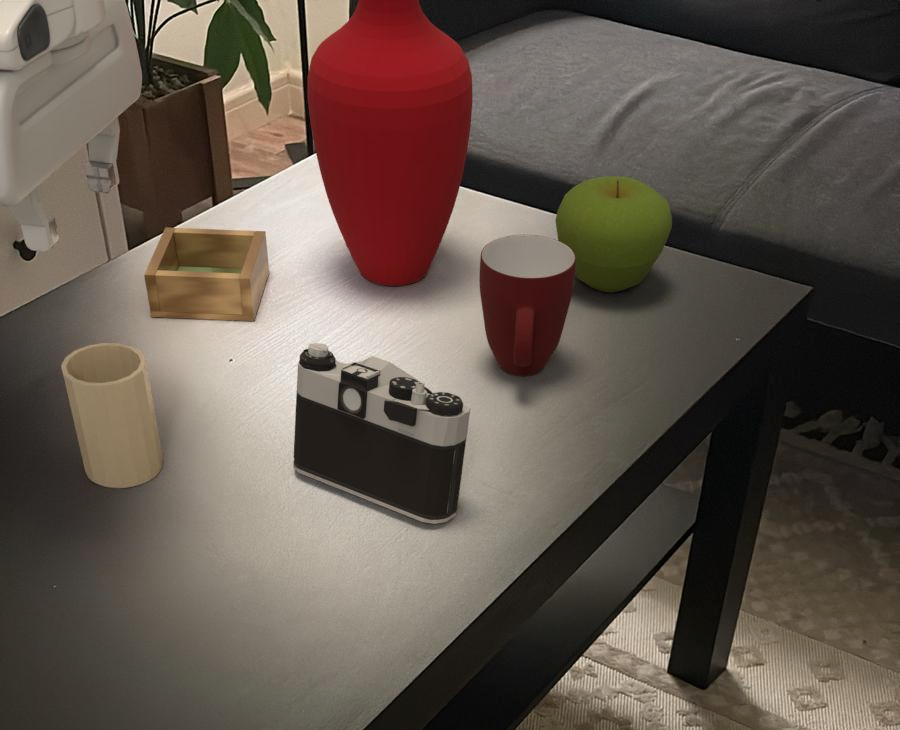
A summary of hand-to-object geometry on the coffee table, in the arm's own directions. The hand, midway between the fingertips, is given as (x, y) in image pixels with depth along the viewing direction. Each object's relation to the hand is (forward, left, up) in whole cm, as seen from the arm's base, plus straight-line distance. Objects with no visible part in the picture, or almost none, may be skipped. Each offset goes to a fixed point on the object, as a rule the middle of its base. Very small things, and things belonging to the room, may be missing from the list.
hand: (75, 216), depth 89 cm
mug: (+32, +17, -20) cm, 41 cm away
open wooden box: (+2, +29, -20) cm, 35 cm away
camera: (+22, +1, -20) cm, 30 cm away
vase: (+19, +35, -20) cm, 45 cm away
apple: (+40, +34, -20) cm, 56 cm away
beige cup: (0, 0, -20) cm, 20 cm away
